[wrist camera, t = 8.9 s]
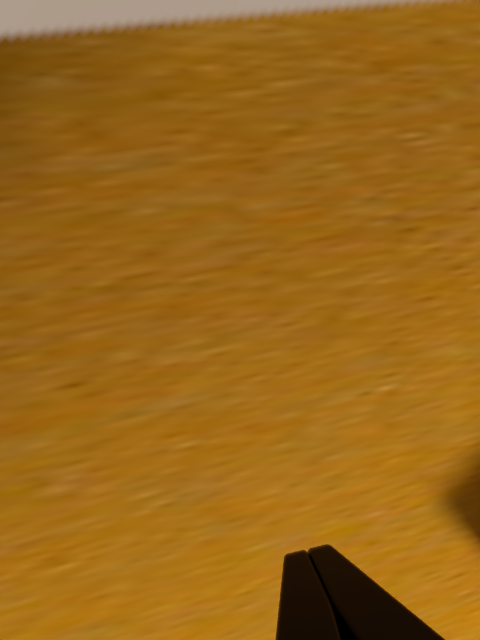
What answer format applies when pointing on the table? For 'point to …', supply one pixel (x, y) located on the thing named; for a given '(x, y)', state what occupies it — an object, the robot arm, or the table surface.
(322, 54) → the table surface
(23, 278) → the table surface
